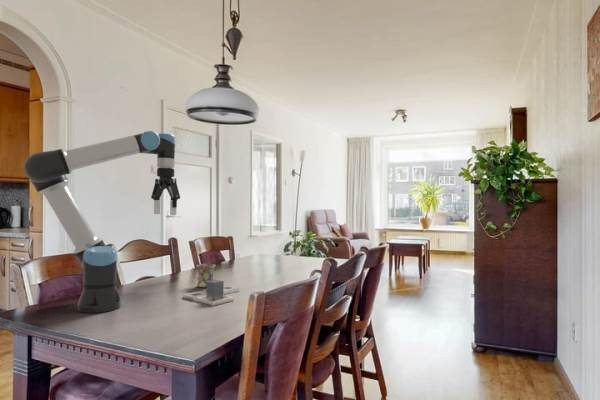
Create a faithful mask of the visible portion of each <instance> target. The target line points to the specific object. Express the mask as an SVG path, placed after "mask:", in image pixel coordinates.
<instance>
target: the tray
mask: <svg viewBox="0 0 600 400" xmlns="http://www.w3.org/2000/svg"><path fill="white" fill-rule="evenodd" d="M234 300H235V299H234V296H230V295H228V294H224V295H223V299H222V300H217V301H210V300H206V296H201V297H196V301H195V302H198V303H200V304H205V305H209V306H212V307H213V306H217V305H221V304H222V305H223V304H227V303H230V302H234Z"/></svg>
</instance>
